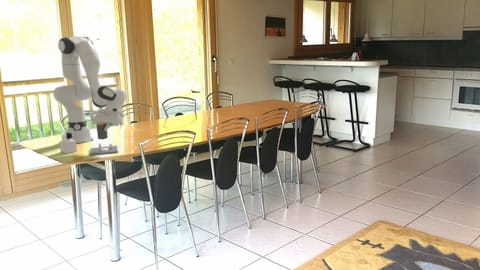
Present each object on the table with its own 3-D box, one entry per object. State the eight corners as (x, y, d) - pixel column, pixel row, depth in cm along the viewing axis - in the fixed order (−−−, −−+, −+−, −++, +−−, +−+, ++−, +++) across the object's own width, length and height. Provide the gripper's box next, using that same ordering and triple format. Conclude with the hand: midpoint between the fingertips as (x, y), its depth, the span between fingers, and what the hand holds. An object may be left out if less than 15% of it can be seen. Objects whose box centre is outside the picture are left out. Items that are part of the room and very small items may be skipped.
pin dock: (90, 149, 270) (90, 143, 269) (116, 147, 275) (116, 141, 274) (90, 155, 255) (89, 149, 254) (117, 152, 260) (117, 146, 259)
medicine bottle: (71, 150, 271) (68, 131, 269) (77, 151, 267) (74, 132, 264) (60, 152, 266) (58, 133, 263) (66, 153, 261) (64, 134, 259)
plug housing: (98, 139, 262) (96, 123, 260) (102, 137, 266) (101, 122, 264) (102, 139, 260) (101, 124, 259) (107, 138, 264) (106, 123, 262)
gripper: (95, 108, 270) (85, 126, 264) (120, 109, 261) (110, 128, 255) (101, 114, 275) (92, 132, 269) (126, 115, 266) (116, 134, 259)
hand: (101, 130), depth 261 cm, fingers closed on plug housing, 4 cm apart
